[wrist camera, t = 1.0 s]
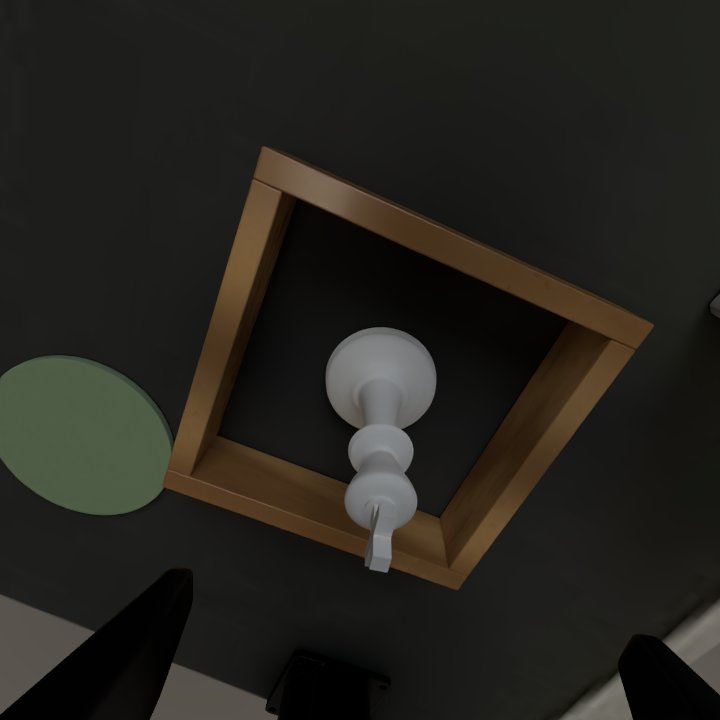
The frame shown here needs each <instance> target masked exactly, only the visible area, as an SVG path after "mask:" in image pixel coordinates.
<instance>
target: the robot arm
mask: <svg viewBox="0 0 720 720" xmlns="http://www.w3.org/2000/svg"><path fill="white" fill-rule="evenodd" d="M192 602H193V573H192V570H191V569H187V568H180V567H172V568H170V569H168V570H167V571H166V572H164V573H163V574H162V575H161V576H160V577H159V578H158V579H156V580H155V581H154V582H153V583H152V584H151V585H149V586H148V587H147V588H146V589H145V590H144V591H143V592H141V593H140V594H139V595H138V596H137V597H136V598H134V599H133V600H132V601H131V602H130V603H129V604H128V605H126V606H125V607H124V608H123V609H122V610H121V611H119V612H118V613H117V614H116V615H115V616H114V617H112V618H111V619H110V620H109V621H108V622H107V623H106V624H104V625H103V626H102V627H101V628H100V629H99V630H97V631H96V632H95V633H94V634H93V635H92V636H91V637H89V638H88V639H87V640H86V641H85V642H84V643H82V644H81V645H80V646H79V647H78V648H77V649H76V650H74V651H73V652H72V653H71V654H70V655H69V656H67V657H66V658H65V659H64V660H63V661H62V662H61V663H59V664H58V665H57V666H56V667H55V668H54V669H52V670H51V671H50V672H49V673H48V674H47V675H46V676H44V677H43V678H42V679H41V680H40V681H39V682H37V683H36V684H35V685H34V686H33V687H32V688H31V689H29V690H28V691H27V692H26V693H25V694H24V695H22V696H21V697H20V698H19V699H18V700H17V701H15V702H14V703H13V704H12V705H11V706H10V707H9V708H7V709H6V710H5V711H4V712H3V713H2V714H0V720H150V718H151V715H152V713H153V711H154V709H155V706H156V704H157V702H158V699H159V697H160V694H161V692H162V689H163V686H164V683H165V681H166V678H167V675H168V672H169V669H170V667H171V664H172V661H173V658H174V655H175V652H176V650H177V647H178V644H179V641H180V638H181V635H182V633H183V630H184V627H185V624H186V621H187V618H188V616H189V613H190V610H191V606H192ZM618 667H619V673H620V677H621V680H622V683H623V687H624V690H625V694H626V697H627V700H628V704H629V707H630V710H631V714H632V717H633V720H720V695H719V694H718V693H717V692H716V691H715V690H714V689H713V688H712V687H710V686H709V685H708V684H707V683H706V682H705V681H704V680H703V679H702V678H701V677H700V676H698V674H696V673H695V672H694V671H693V670H692V669H691V668H690V667H689V666H688V665H687V664H686V663H685V662H684V661H683V660H682V659H680V658H679V657H678V656H677V655H676V654H675V653H674V652H673V651H672V650H671V649H670V648H669V647H668V646H666V645H665V644H664V643H663V642H662V641H661V640H660V639H658V638H656V637H654V636H649V635H642V634H635V635H633V636H632V637H631V639H630V641H629V642H628V644H627V646H626V648H625V649H624V651H623V653H622V654H621V656H620V658H619V662H618ZM390 689H391V681H390V678H389V677H387V676H384V675H381V674H378V673H375V672H371V671H368V670H365V669H362V668H359V667H356V666H353V665H350V664H346V663H343V662H340V661H337V660H334V659H331V658H328V657H325V656H322V655H318V654H315V653H312V652H309V651H306V650H297V651H295V652H294V654H293V656H292V658H291V659H290V661H289V663H288V665H287V666H286V668H285V670H284V672H283V674H282V675H281V677H280V679H279V681H278V682H277V684H276V686H275V688H274V689H273V691H272V693H271V695H270V696H269V698H268V700H267V704H266V708H265V709H266V711H267V712H269V713H271V714H274V715H278V720H370V716H371V714H372V713H373V712H374V710H375V709H376V708H377V706H378V705H379V704H380V702H381V701H382V700H383V698H384V697H385V696H386V694H387V693H388V692H389V690H390Z"/></svg>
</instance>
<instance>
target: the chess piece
mask: <svg viewBox="0 0 720 720" xmlns="http://www.w3.org/2000/svg"><path fill="white" fill-rule="evenodd" d="M435 389H436V369H435V365H434V362H433V359H432V357H431V355H430V354H429V352H428V350H427V349H426V348H425V347H424V346H423V344H422V343H421V342H419V341H418V340H417V339H416V338H414V337H413V336H411V335H409V334H407V333H405V332H403V331H400V330H397V329H393V328H386V327H375V328H369V329H365V330H361V331H359V332H356V333H354V334H352V335H350V336H349V337H347V338H346V339H345V340H343V341H342V342H341V343H340V344H339V345H338V346H337V347H336V349H335V350H334V351H333V353H332V355H331V357H330V359H329V361H328V364H327V368H326V390H327V395H328V398H329V400H330V403H331V405H332V406H333V408H334V409H335V411H336V412H337V413H338V414H339V415H340V416H341V417H342V418H343V419H344V420H345V421H346V422H348V423H349V424H351V425H353V426H355V427H357V428H359V429H360V430H359V431H357V432H356V433H355V434H354V436H353V437H352V439H351V440H350V443H349V447H348V455H349V458H350V461H351V463H352V466H353V467H354V469H355V470H356V471H357V472H358V473H357V474H356V475H355V476H354V477H353V479H352V480H351V482H350V484H349V486H348V488H347V490H346V493H345V499H344V502H345V508H346V511H347V513H348V515H349V516H350V518H351V519H352V520H353V521H354V522H355V523H357V524H358V525H360V526H361V527H363V528H365V529H368V530H370V537H369V541H368V544H367V548H366V552H365V566H368V567H369V569H371V570H376V571H382V572H388V569H389V566H390V563H391V560H392V556H391V536H392V533H393V530H395V529H397V528H400V527H402V526H403V525H405V524H406V523H407V522H408V521H409V520H410V519H411V518H412V517H413V515H414V513H415V511H416V508H417V496H416V492H415V490H414V487H413V486H412V484H411V482H410V480H409V479H408V478H407V476H406V475H405V474H404V472H405V471H406V470H407V469H408V467H409V465H410V463H411V461H412V458H413V445H412V442H411V440H410V438H409V437H408V435H407V434H406V433H405V432H404V431H402V430H401V429H403V428H405V427H407V426H409V425H411V424H413V423H414V422H416V421H417V420H418V419H419V418H420V417H422V415H423V414H424V413H425V412H426V411H427V409H428V408H429V406H430V404H431V402H432V400H433V398H434V394H435Z"/></svg>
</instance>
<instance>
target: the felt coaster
mask: <svg viewBox="0 0 720 720" xmlns="http://www.w3.org/2000/svg"><path fill="white" fill-rule="evenodd" d="M173 447H174V440H173V437H172V433H171V430H170V428H169V425H168V423H167V421H166V419H165V417H164V416H163V414H162V412H161V410H160V409H159V408H158V406H157V405H156V404H155V402H154V401H153V400H152V399H151V398H150V397H149V396H148V395H147V394H146V392H145V391H143V390H142V389H141V388H140V387H139V386H138V385H137V384H135V383H134V382H133V381H131V380H130V379H128V378H127V377H126V376H124V375H123V374H121V373H119V372H117V371H115V370H114V369H112V368H110V367H107V366H105V365H103V364H101V363H98V362H95V361H92V360H88V359H84V358H80V357H75V356H64V355H53V356H43V357H38V358H34V359H31V360H28V361H25V362H23V363H21V364H19V365H18V366H16V367H14V368H12V369H10V370H9V371H8V372H6V373H5V374H4V375H3V376H2V377H1V378H0V458H1V459H2V461H3V462H4V463H5V465H6V466H7V467H8V468H9V470H10V471H11V472H12V473H13V474H14V475H15V476H16V477H17V478H18V479H19V480H20V481H21V482H22V483H24V484H25V485H26V486H27V487H29V488H30V489H31V490H33V491H34V492H35V493H37V494H39V495H40V496H42V497H44V498H45V499H47V500H49V501H51V502H53V503H55V504H57V505H60V506H62V507H65V508H68V509H71V510H74V511H78V512H82V513H88V514H96V515H115V514H122V513H126V512H130V511H133V510H136V509H139V508H141V507H143V506H144V505H146V504H148V503H150V502H151V501H152V500H153V499H155V498H156V497H157V496H158V495H159V493H160V492H161V491H162V490H163V489H164V487H163V486H162V484H163V480H164V477H165V473H166V470H167V468H168V464H169V460H170V457H171V454H172V450H173Z"/></svg>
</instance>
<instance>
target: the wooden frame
mask: <svg viewBox="0 0 720 720" xmlns="http://www.w3.org/2000/svg"><path fill="white" fill-rule="evenodd" d="M297 198H298V199H300V200H302V201H304V202H307V203H309V204H311V205H313V206H316V207H318V208H320V209H322V210H325V211H327V212H329V213H331V214H333V215H336V216H338V217H340V218H342V219H345V220H347V221H349V222H351V223H354V224H356V225H358V226H360V227H362V228H365V229H367V230H369V231H371V232H374V233H376V234H378V235H380V236H383V237H385V238H387V239H389V240H392V241H394V242H396V243H398V244H400V245H403V246H405V247H407V248H409V249H412V250H414V251H416V252H418V253H421V254H423V255H425V256H427V257H429V258H432V259H434V260H436V261H438V262H441V263H443V264H445V265H447V266H450V267H452V268H454V269H456V270H459V271H461V272H463V273H465V274H467V275H470V276H472V277H474V278H476V279H479V280H481V281H483V282H485V283H488V284H490V285H492V286H494V287H496V288H499V289H501V290H503V291H505V292H508V293H510V294H512V295H514V296H517V297H519V298H521V299H523V300H526V301H528V302H530V303H532V304H534V305H537V306H539V307H541V308H543V309H546V310H548V311H550V312H552V313H555V314H557V315H559V316H561V317H563V318H566V319H568V320H569V322H568V323H567V325H566V326H565V328H564V329H563V331H562V332H561V334H560V335H559V337H558V338H557V340H556V341H555V343H554V345H553V346H552V348H551V349H550V351H549V352H548V354H547V355H546V357H545V358H544V360H543V361H542V363H541V364H540V366H539V367H538V369H537V370H536V372H535V374H534V375H533V377H532V378H531V380H530V381H529V383H528V384H527V386H526V387H525V389H524V390H523V392H522V393H521V395H520V396H519V398H518V399H517V401H516V403H515V404H514V406H513V407H512V409H511V410H510V412H509V413H508V415H507V416H506V418H505V419H504V421H503V422H502V424H501V425H500V427H499V428H498V430H497V431H496V433H495V435H494V436H493V438H492V439H491V441H490V442H489V444H488V445H487V447H486V448H485V450H484V451H483V453H482V454H481V456H480V457H479V459H478V460H477V462H476V464H475V465H474V467H473V468H472V470H471V471H470V473H469V474H468V476H467V477H466V479H465V480H464V482H463V483H462V485H461V486H460V488H459V489H458V491H457V493H456V494H455V496H454V497H453V499H452V500H451V502H450V503H449V505H448V506H447V508H446V509H445V511H444V512H443V514H442V515H441V517H440V518H437V517H435V516H432V515H429V514H427V513H424V512H421V511H419V510H416V511H415V513H414V515H413V517H412V518H411V519H410V520H409V521H408V522H407V523H406V524H405V525H403V526H402V527H400V528H397V529H395V530H393V533H392V536H391V556H392V560H391V563H390V566H389V567H392V568H395V569H398V570H401V571H404V572H406V573H409V574H412V575H415V576H418V577H421V578H424V579H426V580H429V581H432V582H435V583H438V584H441V585H443V586H446V587H449V588H452V589H455V590H458V589H459V588H460V586H461V585H462V584H463V582H464V581H465V580H466V578H467V576H468V575H469V574H470V572H471V571H472V570H473V568H474V567H475V566H476V564H477V563H478V562H479V560H480V559H481V558H482V556H483V555H484V554H485V552H486V551H487V550H488V548H489V547H490V546H491V544H492V543H493V542H494V540H495V539H496V538H497V536H498V535H499V533H500V532H501V531H502V529H503V528H504V527H505V525H506V524H507V523H508V521H509V520H510V519H511V517H512V516H513V515H514V513H515V512H516V511H517V509H518V508H519V507H520V505H521V504H522V503H523V501H524V500H525V499H526V497H527V496H528V495H529V493H530V492H531V491H532V489H533V488H534V486H535V485H536V484H537V482H538V481H539V480H540V478H541V477H542V476H543V474H544V473H545V472H546V470H547V469H548V468H549V466H550V465H551V464H552V462H553V461H554V460H555V458H556V457H557V456H558V454H559V453H560V452H561V450H562V449H563V448H564V446H565V445H566V444H567V442H568V441H569V439H570V438H571V437H572V435H573V434H574V433H575V431H576V430H577V429H578V427H579V426H580V425H581V423H582V422H583V421H584V419H585V418H586V417H587V415H588V414H589V413H590V411H591V410H592V409H593V407H594V406H595V405H596V403H597V402H598V401H599V399H600V398H601V397H602V395H603V394H604V393H605V391H606V390H607V388H608V387H609V386H610V384H611V383H612V382H613V380H614V379H615V378H616V376H617V375H618V374H619V372H620V371H621V370H622V368H623V367H624V366H625V364H626V363H627V362H628V360H629V359H630V358H631V356H632V355H633V354H634V352H635V350H634V349H637V348H638V347H639V346H640V344H641V343H642V342H643V340H644V339H645V338H646V336H647V335H648V334H649V332H650V331H651V330H652V328H653V327H654V325H653V324H652V323H650V322H648V321H646V320H644V319H643V318H641V317H639V316H637V315H635V314H633V313H631V312H629V311H627V310H625V309H623V308H622V307H620V306H618V305H616V304H614V303H612V302H610V301H608V300H606V299H604V298H602V297H600V296H597V295H595V294H593V293H591V292H589V291H586V290H584V289H582V288H580V287H578V286H576V285H573V284H571V283H569V282H567V281H565V280H563V279H560V278H558V277H556V276H554V275H552V274H549V273H547V272H545V271H543V270H541V269H539V268H536V267H534V266H532V265H530V264H528V263H526V262H523V261H521V260H519V259H517V258H515V257H512V256H510V255H508V254H506V253H504V252H502V251H499V250H497V249H495V248H493V247H491V246H488V245H486V244H484V243H482V242H480V241H478V240H475V239H473V238H471V237H469V236H467V235H465V234H462V233H460V232H458V231H456V230H454V229H451V228H449V227H447V226H445V225H443V224H441V223H438V222H436V221H434V220H432V219H430V218H428V217H425V216H423V215H421V214H419V213H417V212H414V211H412V210H410V209H408V208H406V207H404V206H401V205H399V204H397V203H395V202H393V201H391V200H388V199H386V198H384V197H382V196H380V195H377V194H375V193H373V192H371V191H369V190H367V189H364V188H362V187H360V186H358V185H356V184H354V183H351V182H349V181H347V180H345V179H343V178H340V177H338V176H336V175H334V174H332V173H330V172H327V171H325V170H323V169H321V168H319V167H316V166H314V165H312V164H310V163H308V162H306V161H303V160H301V159H299V158H297V157H295V156H293V155H290V154H288V153H286V152H283V151H279V150H276V149H273V148H270V147H266V146H263V147H262V149H261V152H260V156H259V159H258V162H257V166H256V169H255V173H254V179H253V180H252V183H251V186H250V190H249V193H248V196H247V200H246V203H245V206H244V210H243V213H242V217H241V220H240V223H239V227H238V230H237V234H236V237H235V240H234V244H233V247H232V250H231V254H230V257H229V261H228V264H227V267H226V271H225V274H224V278H223V281H222V284H221V288H220V291H219V294H218V298H217V301H216V305H215V308H214V311H213V315H212V318H211V322H210V325H209V328H208V332H207V335H206V338H205V342H204V345H203V349H202V352H201V355H200V359H199V362H198V366H197V369H196V372H195V376H194V379H193V383H192V386H191V389H190V393H189V396H188V399H187V403H186V406H185V410H184V413H183V416H182V420H181V423H180V427H179V430H178V433H177V437H176V440H175V443H174V447H173V450H172V454H171V457H170V460H169V464H168V468H167V470H166V473H165V477H164V480H163V484H162V486H163V487H165V488H168V489H171V490H174V491H177V492H179V493H182V494H185V495H188V496H191V497H194V498H196V499H199V500H202V501H205V502H208V503H211V504H214V505H216V506H219V507H222V508H225V509H228V510H231V511H233V512H236V513H239V514H242V515H245V516H248V517H250V518H253V519H256V520H259V521H262V522H265V523H267V524H270V525H273V526H276V527H279V528H282V529H284V530H287V531H290V532H293V533H296V534H299V535H301V536H304V537H307V538H310V539H313V540H316V541H319V542H321V543H324V544H327V545H330V546H333V547H336V548H338V549H341V550H344V551H347V552H350V553H353V554H355V555H358V556H361V557H364V558H365V552H366V548H367V544H368V541H369V537H370V530H368V529H365V528H363V527H361V526H360V525H358V524H357V523H355V522H354V521H353V520H352V519H351V518H350V516H349V515H348V513H347V511H346V508H345V502H344V499H345V493H346V490H347V488H348V486H349V484H346V483H343V482H341V481H338V480H335V479H333V478H330V477H327V476H324V475H322V474H319V473H316V472H314V471H311V470H308V469H306V468H303V467H300V466H298V465H295V464H292V463H290V462H287V461H284V460H281V459H279V458H276V457H273V456H271V455H268V454H265V453H263V452H260V451H257V450H255V449H252V448H249V447H247V446H244V445H241V444H238V443H236V442H233V441H230V440H228V439H225V438H222V437H220V436H217V433H218V430H219V427H220V424H221V421H222V418H223V416H224V413H225V410H226V407H227V404H228V401H229V398H230V395H231V392H232V389H233V386H234V383H235V380H236V377H237V374H238V372H239V369H240V366H241V363H242V360H243V357H244V354H245V351H246V348H247V345H248V342H249V339H250V336H251V333H252V330H253V327H254V325H255V322H256V319H257V316H258V313H259V310H260V307H261V304H262V301H263V298H264V295H265V292H266V289H267V286H268V283H269V281H270V278H271V275H272V272H273V269H274V266H275V263H276V260H277V257H278V254H279V251H280V248H281V245H282V242H283V239H284V236H285V234H286V231H287V228H288V225H289V222H290V219H291V216H292V213H293V210H294V207H295V204H296V201H297Z"/></svg>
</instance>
